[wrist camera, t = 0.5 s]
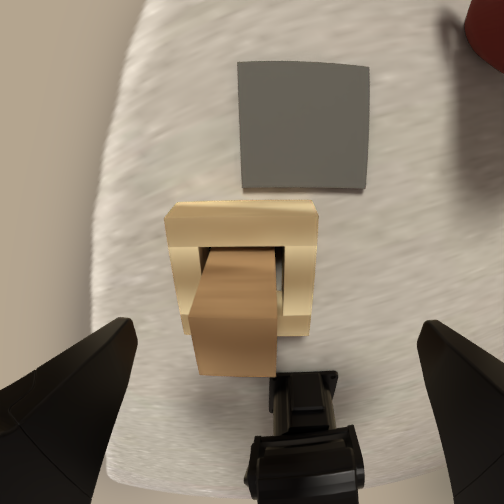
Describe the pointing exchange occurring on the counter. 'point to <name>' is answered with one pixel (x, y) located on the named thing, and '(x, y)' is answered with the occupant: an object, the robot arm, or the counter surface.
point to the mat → (303, 124)
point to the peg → (236, 313)
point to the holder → (247, 234)
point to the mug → (487, 31)
